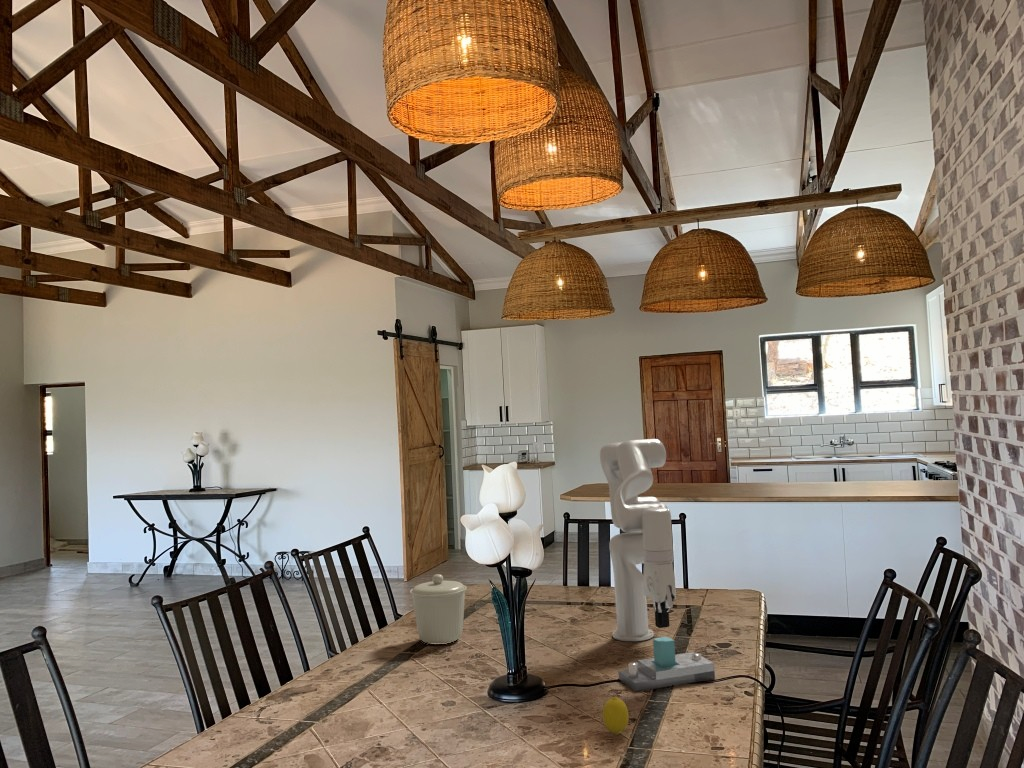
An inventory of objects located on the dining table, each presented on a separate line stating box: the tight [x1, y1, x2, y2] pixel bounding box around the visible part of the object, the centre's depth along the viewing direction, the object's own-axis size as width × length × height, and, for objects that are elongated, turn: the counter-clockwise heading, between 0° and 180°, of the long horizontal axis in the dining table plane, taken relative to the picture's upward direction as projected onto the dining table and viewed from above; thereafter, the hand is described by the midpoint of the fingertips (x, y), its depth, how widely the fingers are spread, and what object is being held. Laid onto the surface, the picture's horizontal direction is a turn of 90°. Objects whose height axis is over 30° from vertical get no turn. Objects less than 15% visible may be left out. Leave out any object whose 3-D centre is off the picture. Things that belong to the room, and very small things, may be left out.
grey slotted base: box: [617, 651, 716, 692], centre depth 205 cm, size 11×22×5 cm, turn 106°
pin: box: [652, 636, 676, 668], centre depth 205 cm, size 4×4×10 cm
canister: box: [409, 573, 468, 643], centre depth 253 cm, size 18×18×21 cm
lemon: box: [602, 696, 630, 736], centre depth 171 cm, size 6×6×8 cm
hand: (662, 626), depth 206 cm, fingers closed
